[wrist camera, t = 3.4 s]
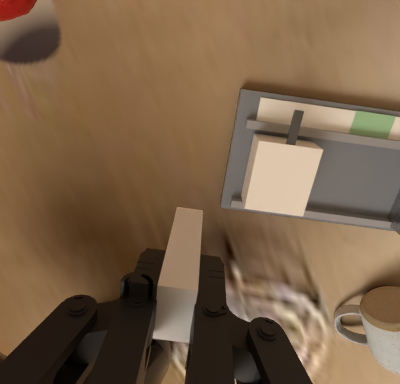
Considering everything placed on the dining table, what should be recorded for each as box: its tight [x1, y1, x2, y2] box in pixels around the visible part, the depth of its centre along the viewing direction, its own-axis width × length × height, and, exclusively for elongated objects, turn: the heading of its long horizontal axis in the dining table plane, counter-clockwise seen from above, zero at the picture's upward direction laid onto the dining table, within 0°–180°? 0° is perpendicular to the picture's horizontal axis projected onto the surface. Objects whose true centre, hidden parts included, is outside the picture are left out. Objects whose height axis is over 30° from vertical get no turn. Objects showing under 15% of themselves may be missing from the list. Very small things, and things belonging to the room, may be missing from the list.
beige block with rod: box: [241, 109, 323, 217], centre depth 29 cm, size 6×10×3 cm, turn 172°
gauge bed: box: [220, 88, 400, 231], centre depth 31 cm, size 22×13×2 cm, turn 82°
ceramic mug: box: [334, 286, 400, 375], centre depth 37 cm, size 11×8×8 cm
